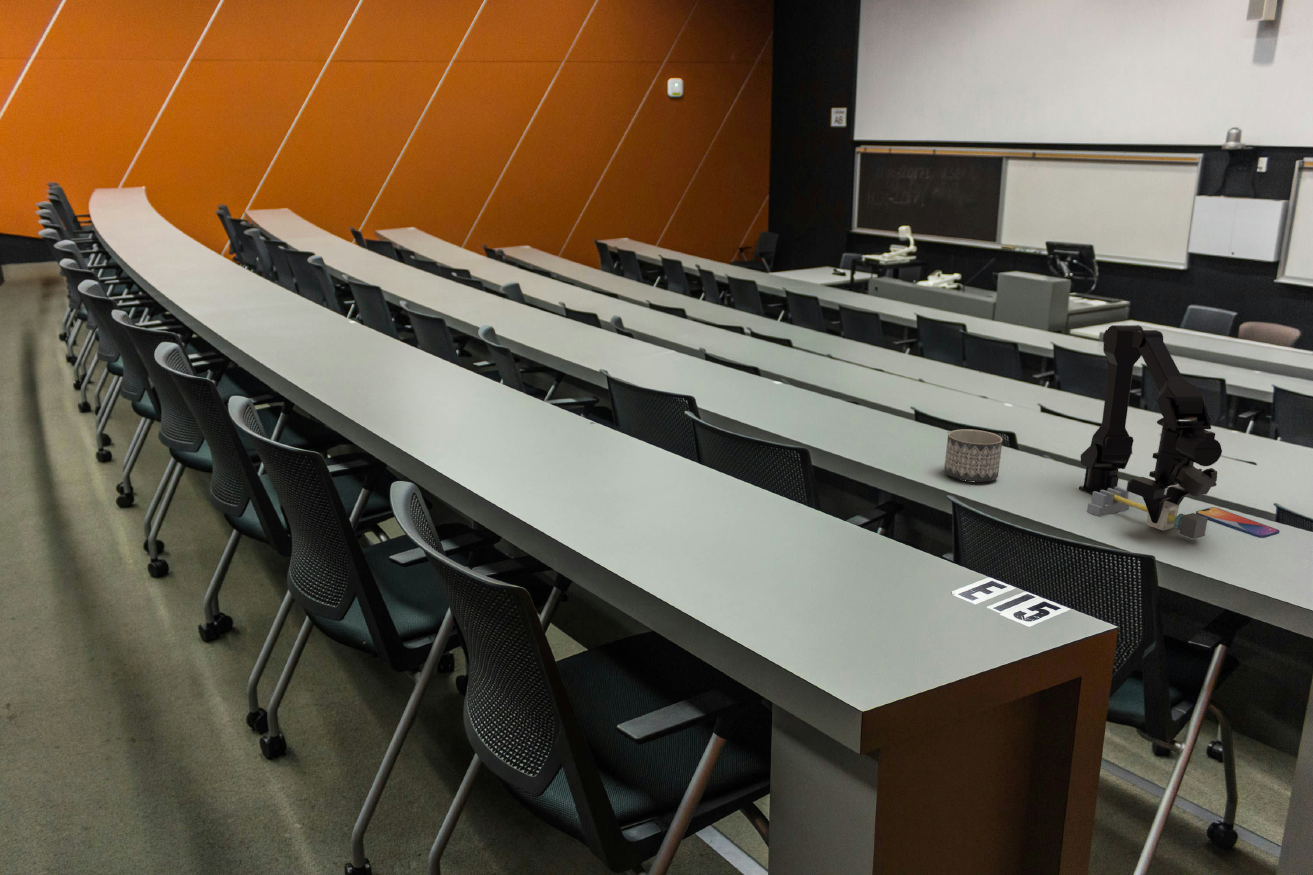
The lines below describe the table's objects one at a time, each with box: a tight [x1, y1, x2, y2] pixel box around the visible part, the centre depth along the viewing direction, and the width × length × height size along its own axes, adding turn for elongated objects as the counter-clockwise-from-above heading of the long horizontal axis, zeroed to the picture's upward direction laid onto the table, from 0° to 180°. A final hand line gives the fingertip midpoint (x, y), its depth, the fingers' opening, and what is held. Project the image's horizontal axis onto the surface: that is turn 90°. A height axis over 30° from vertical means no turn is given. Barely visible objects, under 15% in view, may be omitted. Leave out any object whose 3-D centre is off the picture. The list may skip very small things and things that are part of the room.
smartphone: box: [1195, 507, 1280, 539], centre depth 207 cm, size 7×15×1 cm, turn 28°
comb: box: [1086, 486, 1130, 517], centre depth 213 cm, size 3×10×5 cm, turn 118°
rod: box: [1113, 494, 1176, 522], centre depth 205 cm, size 20×1×1 cm, turn 28°
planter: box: [943, 428, 1004, 483], centre depth 233 cm, size 13×13×10 cm
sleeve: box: [1145, 501, 1180, 531], centre depth 202 cm, size 4×4×5 cm
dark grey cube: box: [1178, 512, 1209, 540], centre depth 196 cm, size 4×4×4 cm
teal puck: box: [1174, 513, 1185, 530], centre depth 198 cm, size 1×3×3 cm, turn 118°
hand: (1161, 520), depth 202 cm, fingers closed on sleeve, 4 cm apart
